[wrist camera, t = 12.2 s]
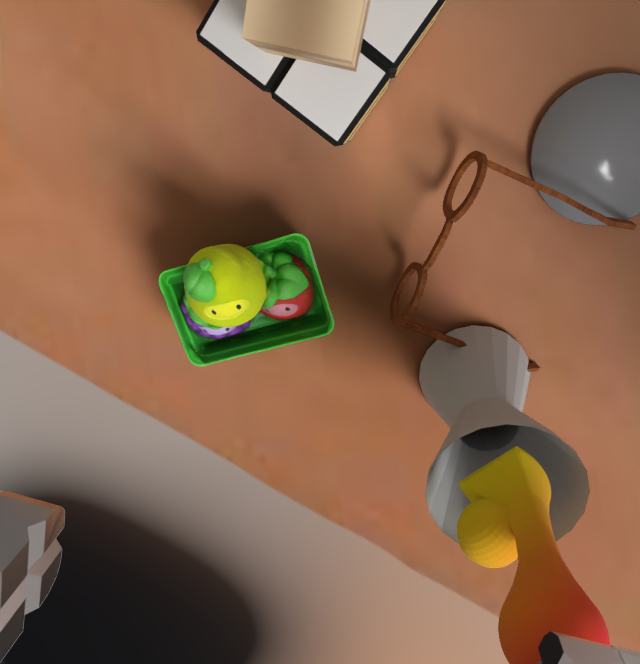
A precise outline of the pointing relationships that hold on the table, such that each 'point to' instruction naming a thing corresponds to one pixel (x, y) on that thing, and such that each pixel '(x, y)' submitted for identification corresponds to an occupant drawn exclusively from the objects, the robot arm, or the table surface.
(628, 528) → the table surface
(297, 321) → the fruit basket
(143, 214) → the table surface
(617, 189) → the slate coaster
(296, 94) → the puzzle cube
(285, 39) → the oak block
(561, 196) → the bent wire
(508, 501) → the lava lamp
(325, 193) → the table surface
